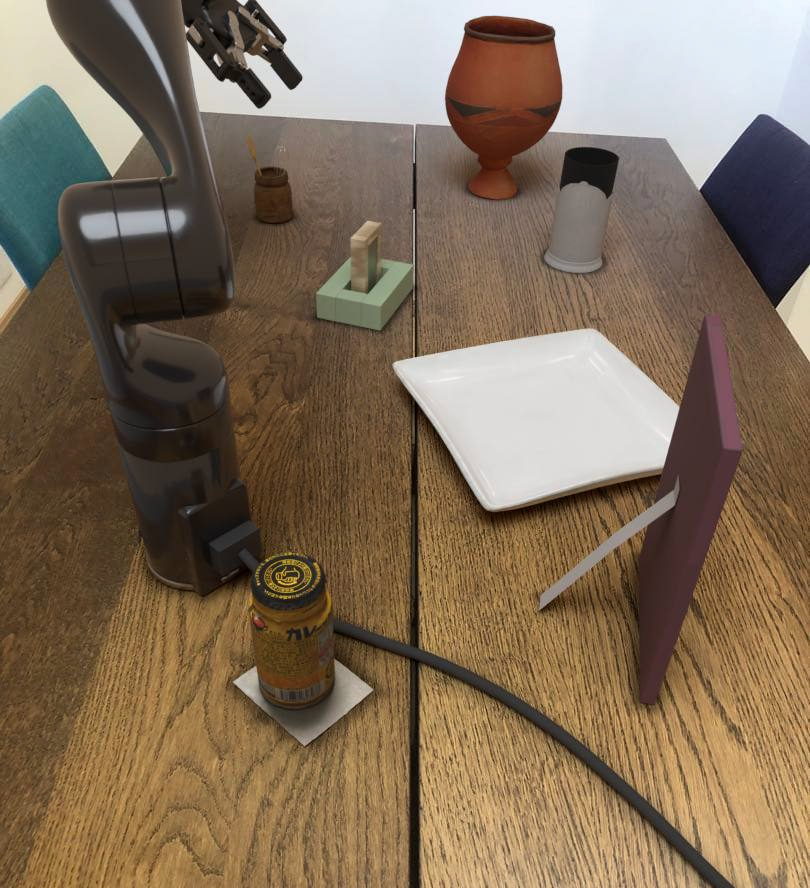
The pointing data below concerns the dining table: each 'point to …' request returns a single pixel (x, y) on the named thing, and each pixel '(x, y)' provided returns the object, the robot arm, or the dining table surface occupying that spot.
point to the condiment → (296, 649)
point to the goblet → (503, 95)
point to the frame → (366, 257)
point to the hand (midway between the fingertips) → (282, 93)
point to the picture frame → (680, 508)
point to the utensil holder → (271, 191)
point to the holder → (365, 296)
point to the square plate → (543, 415)
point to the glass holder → (582, 209)
